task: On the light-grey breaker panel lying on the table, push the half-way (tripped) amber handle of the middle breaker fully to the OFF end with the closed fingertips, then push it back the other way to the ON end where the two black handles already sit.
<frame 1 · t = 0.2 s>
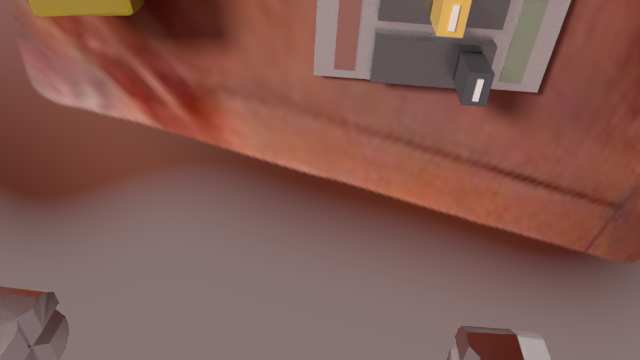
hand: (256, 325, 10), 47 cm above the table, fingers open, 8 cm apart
breaker b: (449, 9, 46), point 6 cm above the table, slide at 4.0 cm
breaker c: (473, 79, 50), point 6 cm above the table, slide at 8.0 cm
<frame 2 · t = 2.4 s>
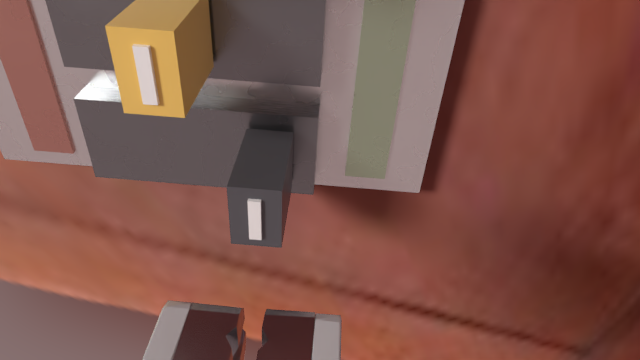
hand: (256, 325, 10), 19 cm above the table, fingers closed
breaker b: (166, 50, 20), point 6 cm above the table, slide at 4.0 cm
panel: (202, 5, 25), on the table
breaker c: (263, 187, 25), point 6 cm above the table, slide at 8.0 cm
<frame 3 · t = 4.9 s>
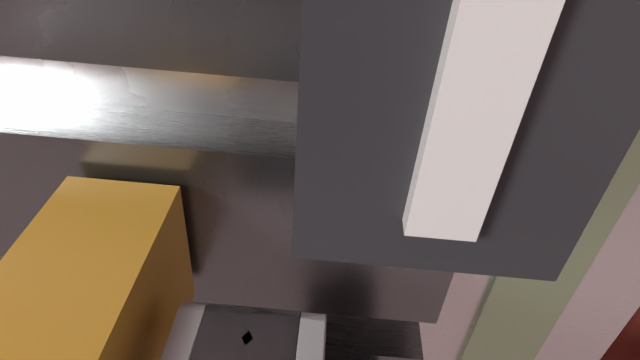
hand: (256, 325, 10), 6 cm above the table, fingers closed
breaker b: (90, 330, 10), point 6 cm above the table, slide at 2.6 cm, touching gripper
panel: (223, 165, 14), on the table
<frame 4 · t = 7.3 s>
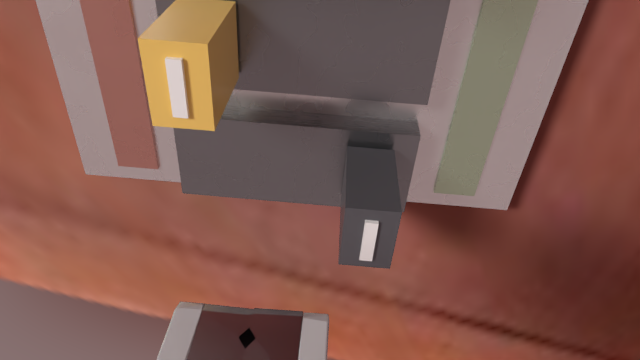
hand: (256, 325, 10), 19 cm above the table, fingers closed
breaker b: (195, 61, 20), point 6 cm above the table, slide at -0.1 cm
panel: (304, 22, 25), on the table
breaker c: (367, 206, 24), point 6 cm above the table, slide at 8.0 cm
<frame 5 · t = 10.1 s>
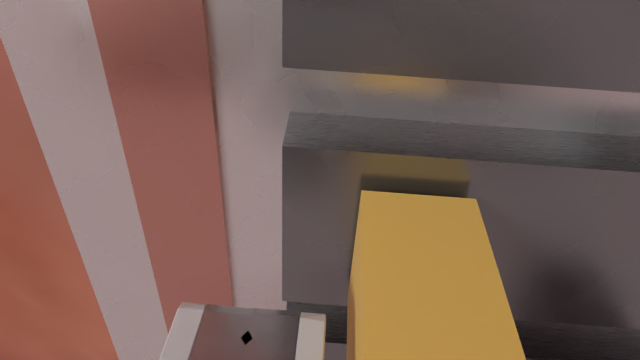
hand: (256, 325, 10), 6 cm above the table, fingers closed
breaker b: (416, 347, 10), point 6 cm above the table, slide at 0.5 cm, touching gripper
panel: (514, 179, 14), on the table
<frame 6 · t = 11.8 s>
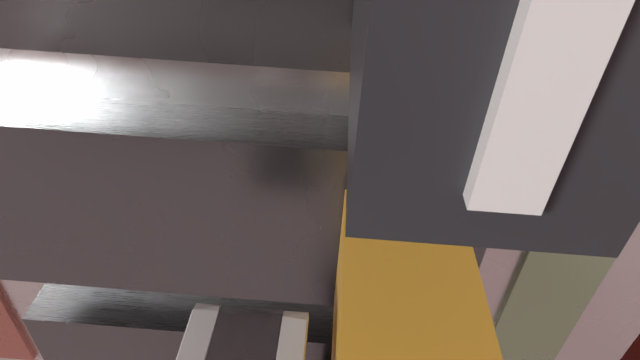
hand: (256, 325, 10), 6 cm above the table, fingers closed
breaker b: (398, 347, 9), point 6 cm above the table, slide at 8.2 cm, touching gripper
panel: (244, 160, 14), on the table
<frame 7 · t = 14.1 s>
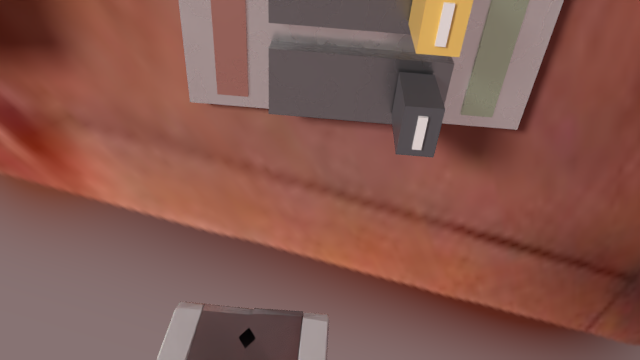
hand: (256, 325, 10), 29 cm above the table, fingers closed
breaker b: (438, 10, 29), point 6 cm above the table, slide at 8.1 cm
breaker c: (415, 114, 33), point 6 cm above the table, slide at 8.0 cm
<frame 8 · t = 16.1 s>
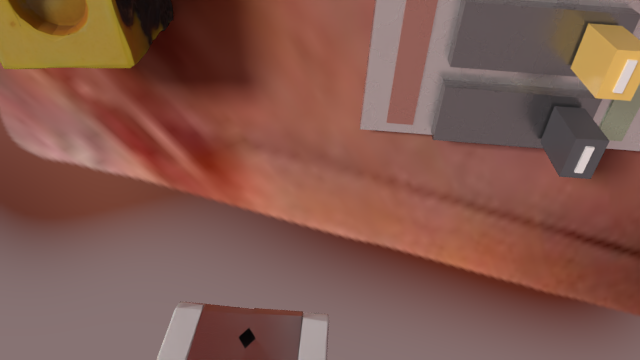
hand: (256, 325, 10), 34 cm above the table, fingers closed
breaker b: (609, 61, 35), point 6 cm above the table, slide at 8.1 cm
panel: (530, 28, 40), on the table
breaker c: (572, 142, 39), point 6 cm above the table, slide at 8.0 cm
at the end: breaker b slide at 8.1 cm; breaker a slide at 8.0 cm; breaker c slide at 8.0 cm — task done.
